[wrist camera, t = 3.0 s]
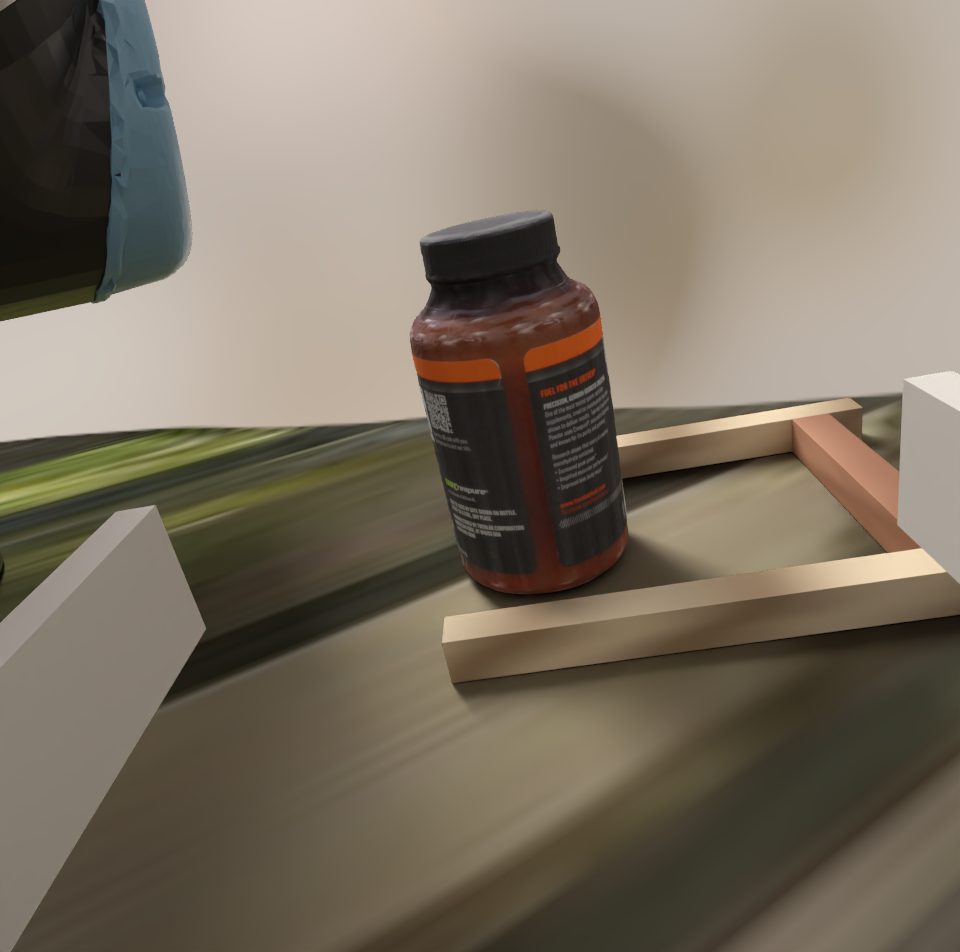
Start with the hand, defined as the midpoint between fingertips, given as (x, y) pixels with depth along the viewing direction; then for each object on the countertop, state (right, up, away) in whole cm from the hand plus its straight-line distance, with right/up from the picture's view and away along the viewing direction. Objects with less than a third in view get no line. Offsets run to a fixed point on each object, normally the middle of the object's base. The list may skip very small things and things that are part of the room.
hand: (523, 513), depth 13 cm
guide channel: (+6, -1, +12) cm, 14 cm away
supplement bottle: (+2, -2, +13) cm, 13 cm away
